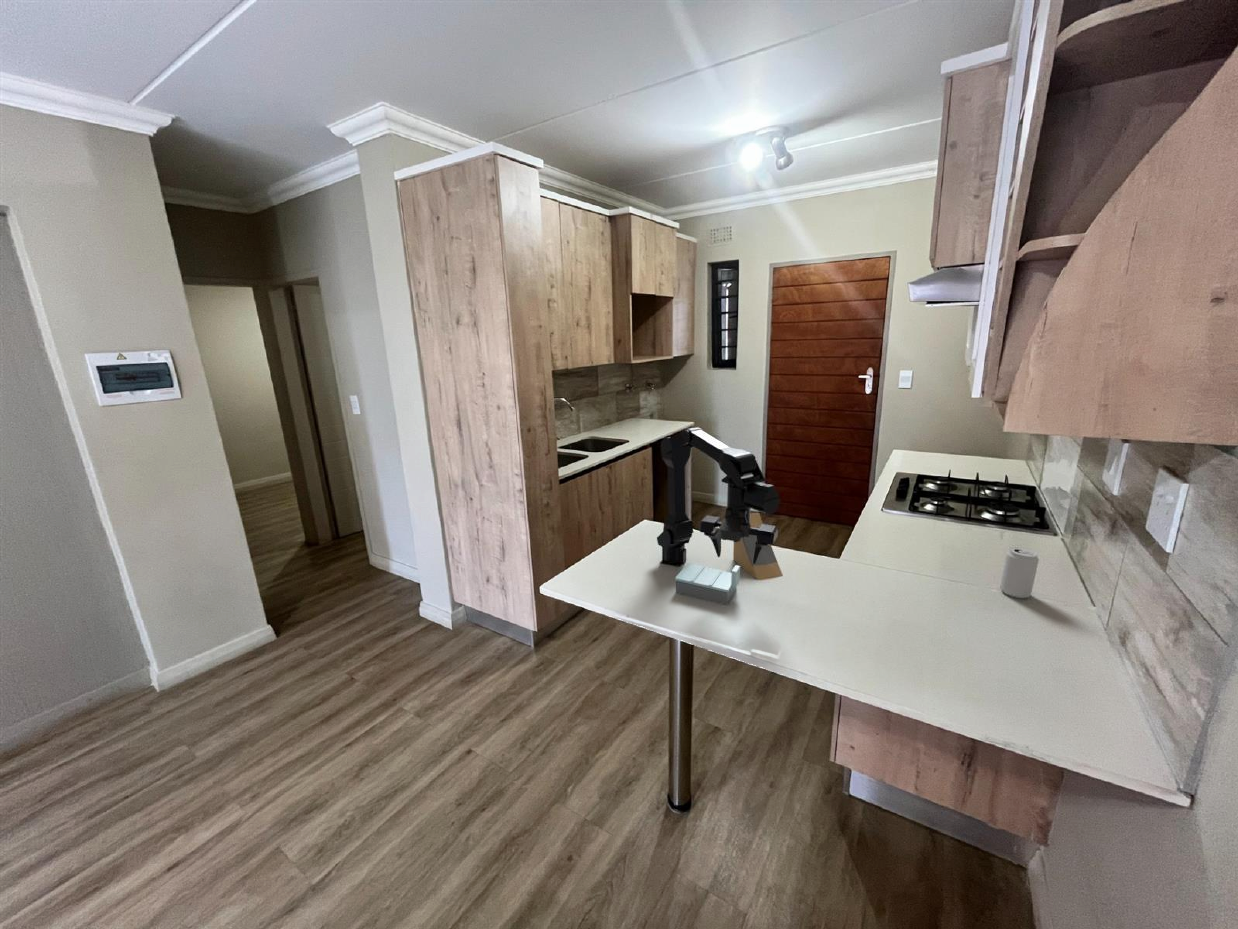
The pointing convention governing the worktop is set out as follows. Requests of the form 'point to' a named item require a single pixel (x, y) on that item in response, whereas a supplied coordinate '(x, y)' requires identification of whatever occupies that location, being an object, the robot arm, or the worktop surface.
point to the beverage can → (1019, 572)
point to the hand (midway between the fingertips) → (736, 560)
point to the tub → (704, 592)
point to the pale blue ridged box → (709, 577)
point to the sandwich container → (766, 560)
